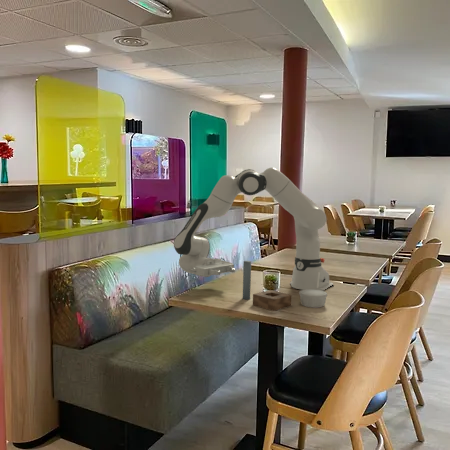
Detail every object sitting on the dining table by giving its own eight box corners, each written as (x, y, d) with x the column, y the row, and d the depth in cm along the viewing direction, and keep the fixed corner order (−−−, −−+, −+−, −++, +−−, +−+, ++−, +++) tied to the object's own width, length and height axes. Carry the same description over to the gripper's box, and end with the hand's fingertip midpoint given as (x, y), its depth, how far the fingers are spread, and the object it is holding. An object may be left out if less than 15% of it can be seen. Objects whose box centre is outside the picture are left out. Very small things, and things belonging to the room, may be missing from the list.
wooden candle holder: (270, 300, 194) (270, 289, 194) (291, 305, 186) (291, 295, 186) (252, 305, 186) (252, 294, 186) (273, 310, 179) (274, 299, 178)
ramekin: (296, 301, 194) (296, 289, 194) (322, 301, 195) (322, 289, 195) (302, 308, 183) (302, 295, 183) (330, 308, 184) (330, 295, 183)
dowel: (246, 297, 198) (247, 260, 197) (251, 298, 196) (252, 261, 195) (241, 298, 196) (242, 261, 195) (246, 300, 194) (247, 262, 192)
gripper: (188, 262, 206) (209, 267, 196) (221, 258, 220) (242, 262, 211) (188, 276, 207) (209, 282, 197) (221, 271, 221) (242, 275, 211)
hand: (226, 271), depth 204 cm, fingers open, 8 cm apart
